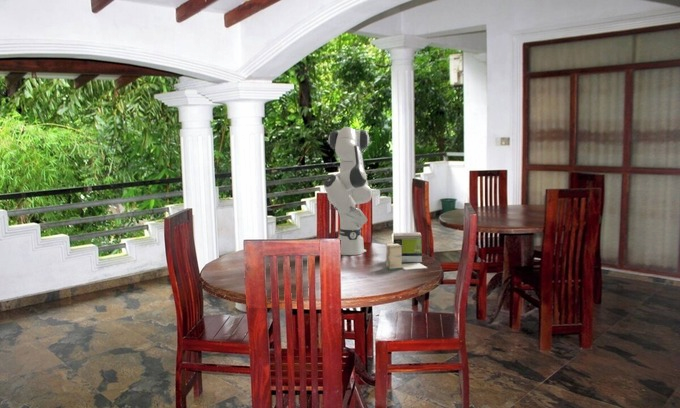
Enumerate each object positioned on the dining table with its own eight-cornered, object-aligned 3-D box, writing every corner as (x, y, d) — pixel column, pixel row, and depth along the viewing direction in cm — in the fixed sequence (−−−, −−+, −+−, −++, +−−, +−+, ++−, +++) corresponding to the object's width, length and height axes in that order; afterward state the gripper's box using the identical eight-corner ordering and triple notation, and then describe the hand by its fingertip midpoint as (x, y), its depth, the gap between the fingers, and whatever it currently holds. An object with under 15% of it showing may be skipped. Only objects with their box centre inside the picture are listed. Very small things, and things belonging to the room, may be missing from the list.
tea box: (421, 258, 322) (421, 231, 320) (421, 263, 312) (422, 235, 310) (393, 258, 323) (393, 231, 321) (393, 262, 313) (393, 235, 311)
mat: (397, 265, 307) (397, 264, 307) (419, 263, 310) (419, 262, 310) (405, 270, 297) (405, 269, 297) (427, 268, 300) (427, 267, 300)
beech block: (386, 267, 303) (386, 244, 302) (397, 266, 305) (397, 243, 303) (390, 270, 297) (390, 246, 296) (401, 269, 299) (401, 245, 297)
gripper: (361, 204, 277) (375, 226, 283) (341, 198, 295) (354, 219, 301) (352, 212, 276) (366, 234, 281) (331, 206, 293) (346, 227, 299)
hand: (360, 226), depth 291 cm, fingers closed
